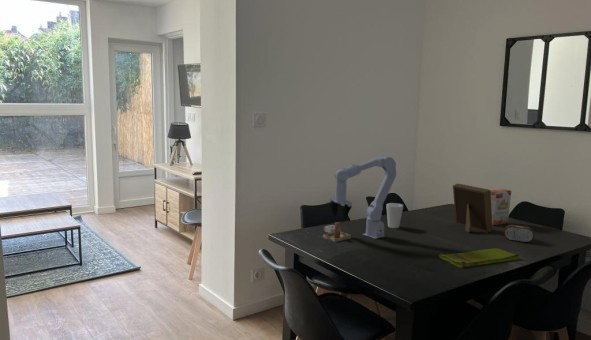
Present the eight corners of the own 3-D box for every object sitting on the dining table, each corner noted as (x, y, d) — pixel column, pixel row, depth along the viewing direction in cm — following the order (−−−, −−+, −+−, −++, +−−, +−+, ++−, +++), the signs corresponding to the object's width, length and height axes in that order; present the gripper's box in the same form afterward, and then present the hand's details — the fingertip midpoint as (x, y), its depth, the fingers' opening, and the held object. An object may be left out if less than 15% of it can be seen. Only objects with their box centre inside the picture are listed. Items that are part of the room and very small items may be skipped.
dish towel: (437, 258, 224) (438, 251, 224) (495, 250, 238) (495, 244, 237) (460, 269, 210) (460, 262, 210) (519, 260, 224) (520, 254, 223)
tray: (351, 238, 249) (352, 235, 249) (335, 242, 242) (335, 239, 241) (338, 234, 257) (338, 230, 256) (322, 238, 249) (322, 234, 249)
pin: (341, 237, 249) (341, 223, 248) (337, 238, 247) (337, 224, 246) (336, 236, 251) (337, 221, 250) (333, 237, 249) (333, 222, 248)
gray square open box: (340, 232, 260) (340, 227, 260) (332, 234, 256) (332, 229, 256) (332, 230, 265) (332, 224, 265) (324, 231, 261) (324, 226, 261)
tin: (533, 242, 252) (535, 227, 250) (533, 244, 249) (535, 228, 248) (503, 238, 258) (504, 223, 257) (502, 239, 255) (504, 224, 254)
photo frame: (460, 222, 288) (463, 182, 284) (492, 231, 270) (496, 188, 266) (444, 226, 280) (447, 184, 276) (476, 235, 262) (480, 191, 258)
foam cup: (400, 225, 279) (402, 203, 277) (402, 229, 270) (404, 207, 268) (384, 224, 280) (385, 202, 278) (386, 228, 271) (387, 206, 269)
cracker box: (493, 226, 282) (496, 192, 279) (485, 223, 287) (488, 190, 284) (508, 223, 289) (512, 190, 286) (500, 221, 294) (503, 188, 291)
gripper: (325, 190, 254) (325, 215, 256) (345, 195, 243) (344, 221, 245) (335, 189, 258) (334, 213, 260) (354, 193, 247) (353, 219, 249)
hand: (339, 217), depth 253 cm, fingers open, 7 cm apart
